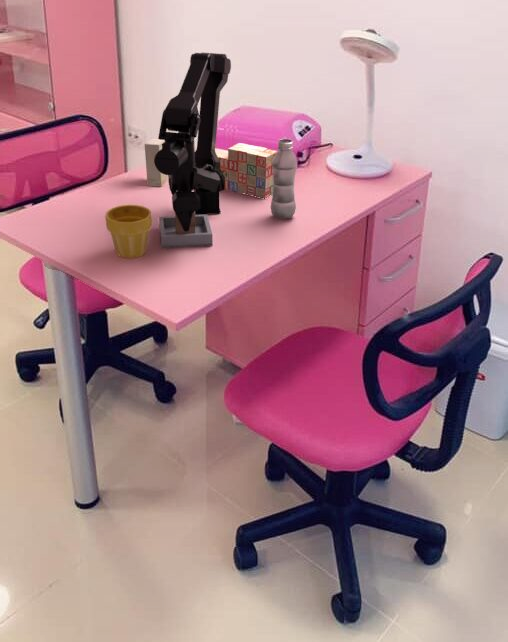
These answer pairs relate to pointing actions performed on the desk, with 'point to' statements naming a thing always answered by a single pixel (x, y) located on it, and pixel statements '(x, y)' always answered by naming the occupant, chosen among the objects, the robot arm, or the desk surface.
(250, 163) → the stack of blocks
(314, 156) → the desk surface
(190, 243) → the tray
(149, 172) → the skincare box
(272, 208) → the plastic bottle
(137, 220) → the plant pot
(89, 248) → the desk surface
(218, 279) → the desk surface
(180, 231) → the walnut block
